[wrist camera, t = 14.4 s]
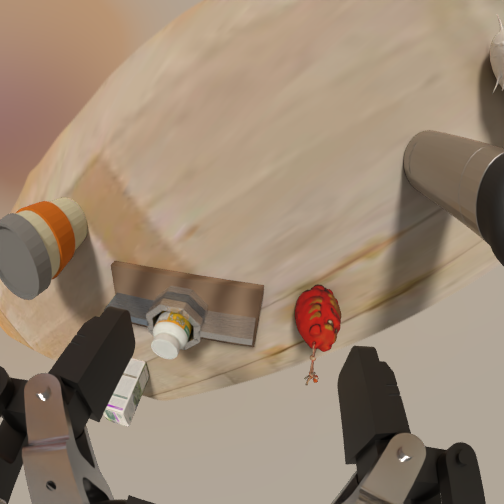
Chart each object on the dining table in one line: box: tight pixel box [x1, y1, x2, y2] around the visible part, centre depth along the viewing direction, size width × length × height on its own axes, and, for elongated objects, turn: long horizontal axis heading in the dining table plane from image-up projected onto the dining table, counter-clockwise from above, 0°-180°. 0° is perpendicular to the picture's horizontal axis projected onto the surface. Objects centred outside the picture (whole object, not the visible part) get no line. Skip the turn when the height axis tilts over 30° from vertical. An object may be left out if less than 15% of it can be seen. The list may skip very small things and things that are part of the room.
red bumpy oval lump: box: [295, 285, 341, 385], centre depth 38 cm, size 8×7×15 cm
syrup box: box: [103, 358, 149, 426], centre depth 51 cm, size 6×6×14 cm
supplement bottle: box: [151, 311, 193, 359], centre depth 42 cm, size 5×5×10 cm
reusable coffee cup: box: [0, 197, 87, 300], centre depth 36 cm, size 12×13×15 cm
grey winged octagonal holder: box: [104, 286, 256, 350], centre depth 44 cm, size 24×8×5 cm, turn 83°
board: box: [111, 261, 264, 347], centre depth 47 cm, size 25×12×2 cm, turn 83°
